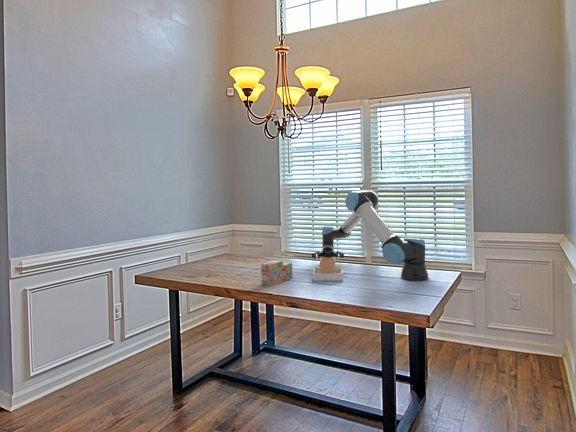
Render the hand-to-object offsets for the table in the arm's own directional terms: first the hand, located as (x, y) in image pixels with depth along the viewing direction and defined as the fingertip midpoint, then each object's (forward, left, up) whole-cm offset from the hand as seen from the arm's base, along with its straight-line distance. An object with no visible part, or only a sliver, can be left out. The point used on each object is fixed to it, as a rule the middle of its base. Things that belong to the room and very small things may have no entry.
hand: (327, 258), depth 253 cm
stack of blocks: (+33, -5, -11) cm, 35 cm away
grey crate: (+5, +7, -10) cm, 13 cm away
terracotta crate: (+5, +7, -9) cm, 12 cm away
